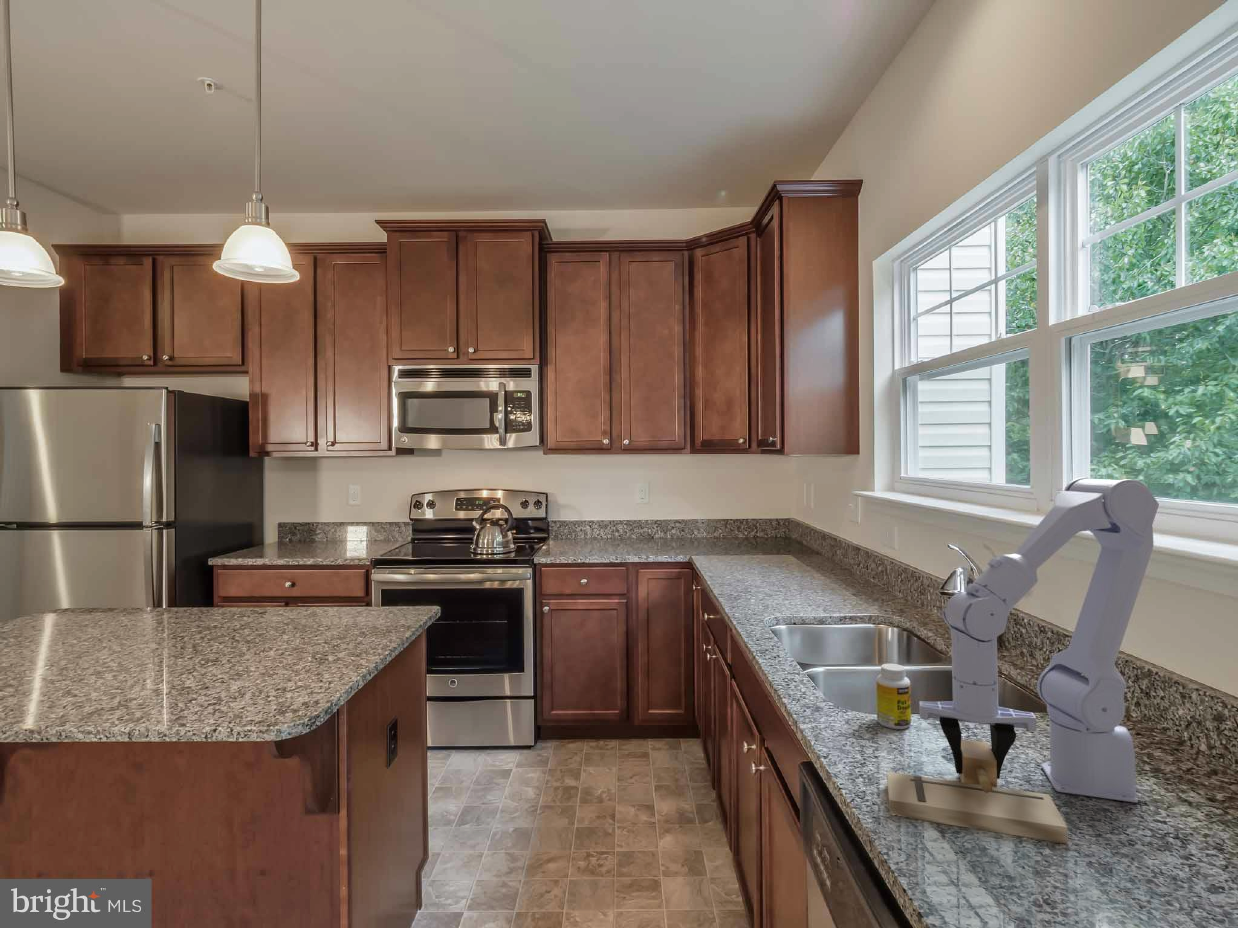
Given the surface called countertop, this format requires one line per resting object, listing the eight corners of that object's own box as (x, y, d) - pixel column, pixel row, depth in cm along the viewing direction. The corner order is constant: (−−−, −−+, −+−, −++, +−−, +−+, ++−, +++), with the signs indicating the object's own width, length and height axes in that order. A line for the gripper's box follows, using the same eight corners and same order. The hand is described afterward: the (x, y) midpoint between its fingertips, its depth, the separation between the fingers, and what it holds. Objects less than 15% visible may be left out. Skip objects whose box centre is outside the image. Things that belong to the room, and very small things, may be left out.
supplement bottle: (899, 733, 109) (897, 674, 109) (870, 722, 113) (869, 665, 113) (917, 725, 112) (916, 667, 112) (889, 714, 116) (888, 659, 116)
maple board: (1049, 809, 85) (1049, 793, 85) (1067, 843, 77) (1067, 826, 77) (887, 785, 92) (887, 770, 92) (889, 814, 84) (889, 798, 84)
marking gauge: (988, 776, 93) (988, 742, 93) (1005, 816, 83) (1004, 778, 83) (958, 772, 94) (957, 738, 94) (970, 811, 84) (969, 773, 84)
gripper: (1026, 674, 92) (1028, 767, 92) (916, 665, 97) (918, 753, 97) (1039, 691, 85) (1041, 791, 85) (920, 680, 90) (923, 775, 91)
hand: (976, 772), depth 91 cm, fingers closed on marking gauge, 4 cm apart
